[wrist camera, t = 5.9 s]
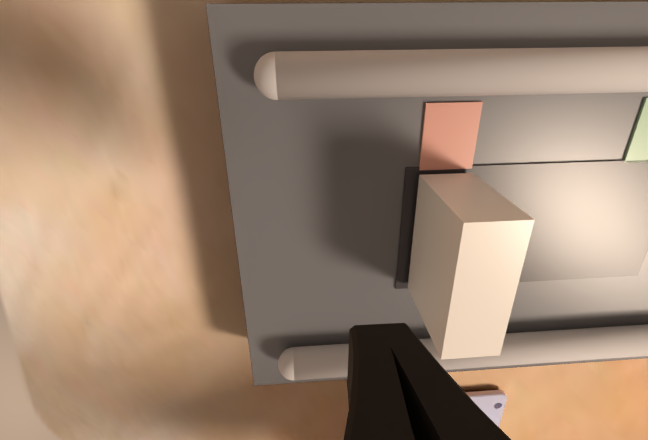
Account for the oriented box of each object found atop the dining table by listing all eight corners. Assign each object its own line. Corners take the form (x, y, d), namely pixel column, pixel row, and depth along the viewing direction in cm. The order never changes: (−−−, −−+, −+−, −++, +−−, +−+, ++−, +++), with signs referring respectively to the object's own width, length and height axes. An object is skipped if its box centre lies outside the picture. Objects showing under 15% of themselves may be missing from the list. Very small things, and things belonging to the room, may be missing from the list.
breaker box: (667, 315, 23) (720, 354, 20) (258, 340, 21) (253, 387, 18) (816, 6, 16) (930, -1, 13) (222, 10, 14) (205, 3, 11)
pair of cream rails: (705, 335, 19) (734, 356, 18) (279, 363, 18) (278, 388, 17) (867, 42, 13) (927, 43, 12) (253, 50, 12) (249, 52, 11)
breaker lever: (453, 284, 16) (499, 355, 13) (407, 287, 16) (440, 359, 13) (472, 173, 14) (534, 220, 10) (419, 174, 14) (464, 222, 10)
